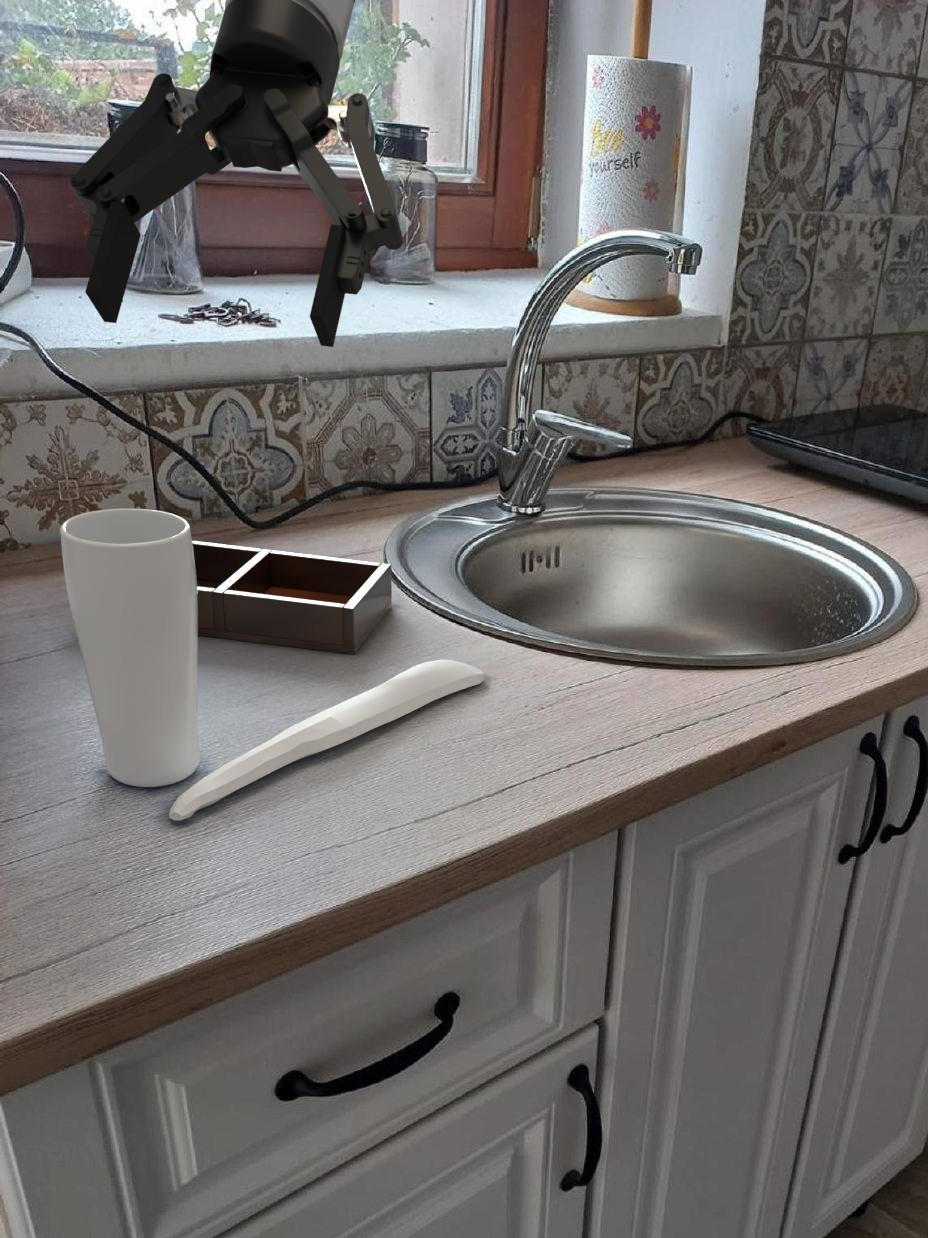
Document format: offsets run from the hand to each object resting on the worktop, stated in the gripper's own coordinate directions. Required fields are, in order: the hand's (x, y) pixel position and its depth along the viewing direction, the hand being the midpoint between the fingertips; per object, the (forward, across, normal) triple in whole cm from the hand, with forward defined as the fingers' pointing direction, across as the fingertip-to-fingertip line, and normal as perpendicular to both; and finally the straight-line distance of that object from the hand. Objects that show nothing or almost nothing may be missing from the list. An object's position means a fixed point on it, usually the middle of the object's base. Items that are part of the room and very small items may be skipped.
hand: (210, 320), depth 74 cm
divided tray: (+8, +4, -26) cm, 27 cm away
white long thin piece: (+21, -9, -12) cm, 26 cm away
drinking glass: (+26, 0, -7) cm, 27 cm away
